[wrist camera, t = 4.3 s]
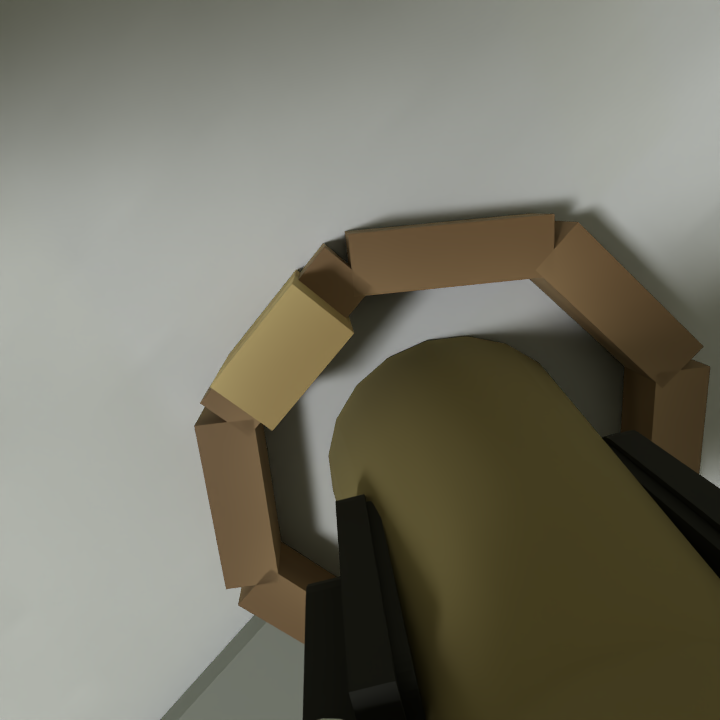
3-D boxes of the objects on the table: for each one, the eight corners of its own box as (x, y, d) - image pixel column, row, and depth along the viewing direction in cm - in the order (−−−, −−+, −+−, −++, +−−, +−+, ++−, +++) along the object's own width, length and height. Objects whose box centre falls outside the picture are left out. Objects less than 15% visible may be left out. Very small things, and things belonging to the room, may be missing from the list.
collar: (118, 493, 12) (78, 552, 10) (429, 101, 10) (458, 75, 8) (463, 704, 15) (487, 786, 13) (757, 421, 13) (841, 461, 11)
